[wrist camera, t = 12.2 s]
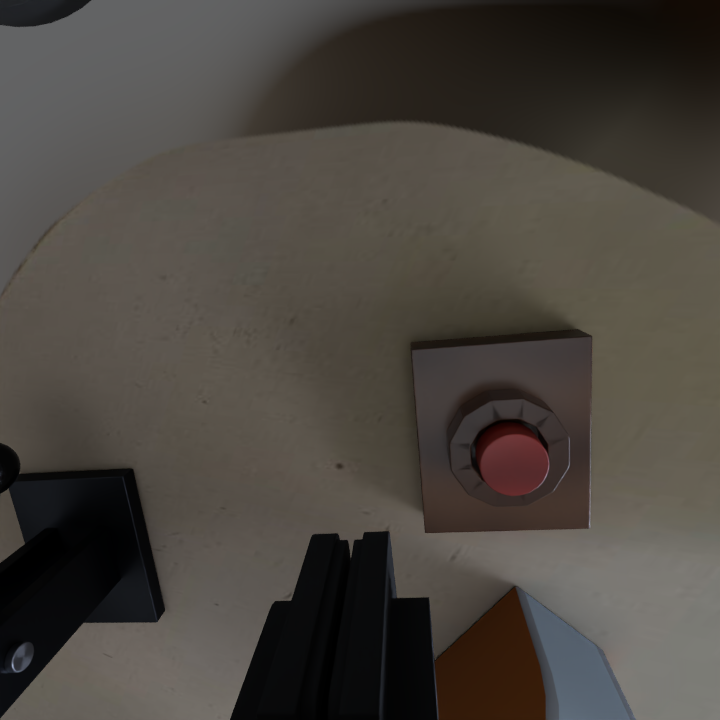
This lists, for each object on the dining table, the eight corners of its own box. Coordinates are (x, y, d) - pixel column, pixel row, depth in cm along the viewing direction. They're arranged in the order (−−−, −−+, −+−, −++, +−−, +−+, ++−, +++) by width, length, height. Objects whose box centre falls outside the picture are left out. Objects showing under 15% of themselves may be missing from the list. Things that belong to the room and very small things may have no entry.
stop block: (410, 342, 29) (410, 356, 25) (578, 329, 28) (606, 342, 24) (424, 514, 32) (426, 551, 28) (577, 509, 30) (602, 547, 27)
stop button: (473, 423, 26) (478, 435, 24) (540, 419, 26) (549, 432, 24) (476, 481, 27) (481, 497, 25) (541, 479, 26) (550, 495, 25)
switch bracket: (19, 473, 34) (-175, 586, 23) (133, 468, 33) (-13, 584, 22) (59, 611, 37) (-97, 774, 26) (165, 610, 36) (51, 780, 24)
